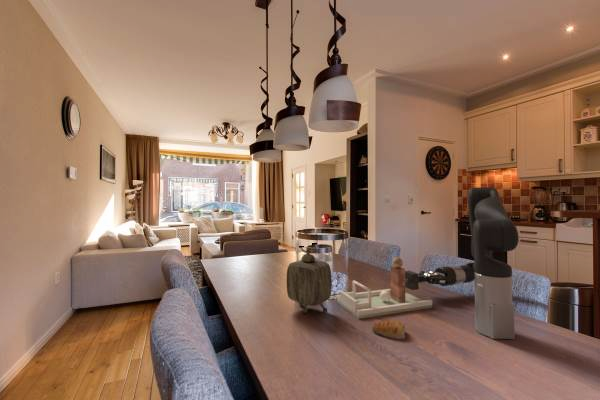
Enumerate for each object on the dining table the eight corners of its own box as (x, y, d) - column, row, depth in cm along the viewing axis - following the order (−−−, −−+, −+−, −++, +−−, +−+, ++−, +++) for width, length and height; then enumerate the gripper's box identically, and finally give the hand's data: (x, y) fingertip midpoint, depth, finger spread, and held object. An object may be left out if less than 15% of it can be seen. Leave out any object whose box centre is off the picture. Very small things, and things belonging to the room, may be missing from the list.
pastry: (371, 336, 84) (371, 323, 84) (373, 326, 90) (373, 314, 90) (405, 341, 81) (405, 327, 81) (405, 331, 87) (405, 318, 87)
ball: (392, 303, 107) (392, 292, 107) (381, 303, 107) (381, 292, 107) (389, 299, 111) (389, 289, 111) (378, 299, 111) (378, 289, 111)
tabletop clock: (332, 312, 102) (331, 241, 102) (317, 320, 95) (316, 244, 95) (300, 303, 111) (299, 238, 111) (284, 310, 104) (283, 241, 104)
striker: (410, 294, 115) (409, 254, 115) (418, 299, 110) (418, 257, 110) (389, 297, 112) (388, 256, 112) (397, 301, 107) (396, 259, 107)
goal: (355, 299, 112) (354, 279, 112) (372, 310, 100) (372, 289, 100) (339, 301, 110) (339, 281, 110) (355, 313, 98) (354, 291, 98)
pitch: (402, 293, 121) (402, 287, 121) (432, 307, 105) (432, 300, 105) (337, 301, 112) (337, 295, 112) (358, 318, 96) (358, 311, 96)
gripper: (437, 263, 124) (403, 266, 119) (463, 270, 111) (426, 274, 106) (437, 280, 124) (403, 284, 119) (463, 289, 111) (426, 294, 106)
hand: (414, 279), depth 113 cm, fingers closed
